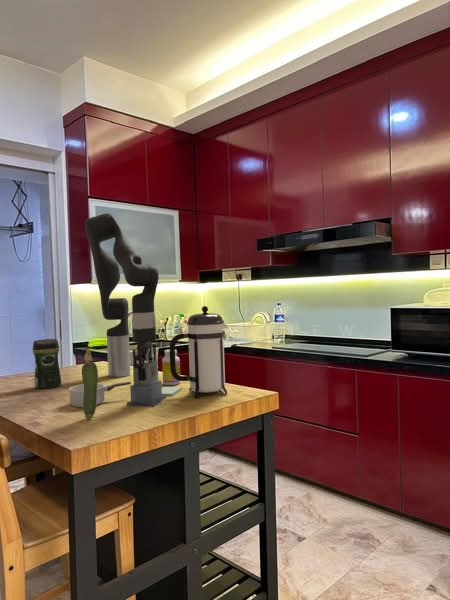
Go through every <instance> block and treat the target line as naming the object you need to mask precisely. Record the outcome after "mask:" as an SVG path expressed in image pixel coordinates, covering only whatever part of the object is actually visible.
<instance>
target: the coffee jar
mask: <svg viewBox="0 0 450 600" xmlns="http://www.w3.org/2000/svg"><path fill="white" fill-rule="evenodd" d="M59 352H60V345H59V342H58V340H57V339H56V338H46V339H45V338H43V339H38V340H34V341H33V344H32V353H33V355H34V388H35V389H51V388H55V387H59V386H61V385H62V376H61V371H60V365H59V357H58V356H59Z"/></svg>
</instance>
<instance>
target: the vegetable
mask: <svg viewBox="0 0 450 600" xmlns="http://www.w3.org/2000/svg"><path fill="white" fill-rule="evenodd" d="M84 361H85V363H83V365H82V368H81V378H82V384H84V399H83V407H82V408H83V413H84V416H85V417H84V418H85V419H86V420H88V419H89V420H92V419H93V417H94V415H95V413H96V407H97V405H96V400H97V383H99V381H98V380H99V374H98V373H99V371H98V366H97V364H96V363H95V362H94V361H93V357H92V354H91V350H90V348H88V349H86V351H85V355H84Z"/></svg>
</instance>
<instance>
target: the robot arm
mask: <svg viewBox="0 0 450 600" xmlns="http://www.w3.org/2000/svg"><path fill="white" fill-rule="evenodd" d="M84 231H85V234H86V237H87V240H88V241H87V242H88V245H89V248H90V251H91V254H92V255H91V256H92V260H93V266H94V273H95V278H96V280H97V285H98V290H99V296H100V304H101V313H102V316H103V318H104V319H105V320H108V321H115V320H116V321H117V320H118V321H119V320H120V322H119V323H118V324H116V325H115V326H112V327H110V328H108V329H106V347H107V349H106V350H107V352H106V353H107V369H108V370H107V371H108V372H107V374H108V377H110V378H121V377H127V376H130V375H131V354H130V352H131V351H130V339H129V338H130V335H129V334H130V332H129V331H130V330H129V302H128V299H126V298H125V297H121V298H120V297H117V298H116V297H115V298H114V297H113V298H110V296H111V294H112V292H113V291H114V290H115V289H116V287H118V284H119V282H120V280H121V272H120V267H121V269H122V272H123V276H124V280H125V283H127V284H128V285H129V286H131V287H137V288H138V287H143V289H142V291H141V293H137V294H135V295H133V296H132V297H131V312H132V314H131V316H132V317H131V331H132V332H131V334H132V342H134V343H137V345H136V346H137V347H136V349H134V348H133V349H132V359H133V361H132V362H133V363H134V368H137V369H138V380H139V381H145V380H146V376H145V363H146V362H147V361H148V359H149V360H157V344H156V343H153V342H156V340H157V322H156V321H157V320H156V314H155V297H156V292H157V287H158V284H159V280H160V279H159V271H158V268H157V267H156V266H155V265H152V264H142V263H143V262H142V261H143V260H142V258H141V255H140V254H139V253H138V252H137V251H136V250H135V249H134V248H133V246H132V245H131V244H130V241H129V240H128V238H127V236H126V234H125V233H124V231H123V229H122V227H121V226H120V224H119V223H118V220H117V219H116V218H115V216H114V215H113V214H111V213H109V212H108V213H107V212H106V213H102V214H98V215H96V216H92V217H89V218H86V220H85V221H84ZM111 239H114V242H113V243H114V244H113V248H112V253H113V254H112V255H113V256H112V255H110V254H109V253H108V252H107V251H105V250H104V248H103V247H101V243H102V242H105V241H108V240H111ZM119 266H120V267H119Z"/></svg>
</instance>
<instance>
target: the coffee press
mask: <svg viewBox="0 0 450 600" xmlns="http://www.w3.org/2000/svg"><path fill="white" fill-rule="evenodd" d="M200 310H201V311H202V313H196V314H193V315H192V314H191V315H190V316H189V317H188V319H187V321H186V325H187V333H182V332H181V333H178V334H175V335H174V336H173V337H172V338H171V339H170V340H171V341H170V342H169V350H170V370H171V374H172V376H173V377H174V378H175V379H176V380H179V381H180V382H189V389H188V390H189V393H193V392H194V394H193V397H194V398H195V399H196V398H197V399H199V398H200V397H201V395H202V394H203V393H216V392H219V393H220V394H221V395H222V396H225V395H228V390H227V389H226V387H225V386H226V377H225V345H224V337H225V331H224V330H225V329H228V325H227V324H226V323H225V320H223V317H222V316H221V315H220V314H218V313H211V312H210V313H209V312H208V310H209V307H208V306H206V305H203V306H202V307H201V309H200ZM183 339H187V340H188V362H189V363H188V364H189V366H188V367H189V374H188V375H180V376H179V375H178V374H177V373H176V366H175V350H176V344H177V342H178V341H179V340H183Z"/></svg>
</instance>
